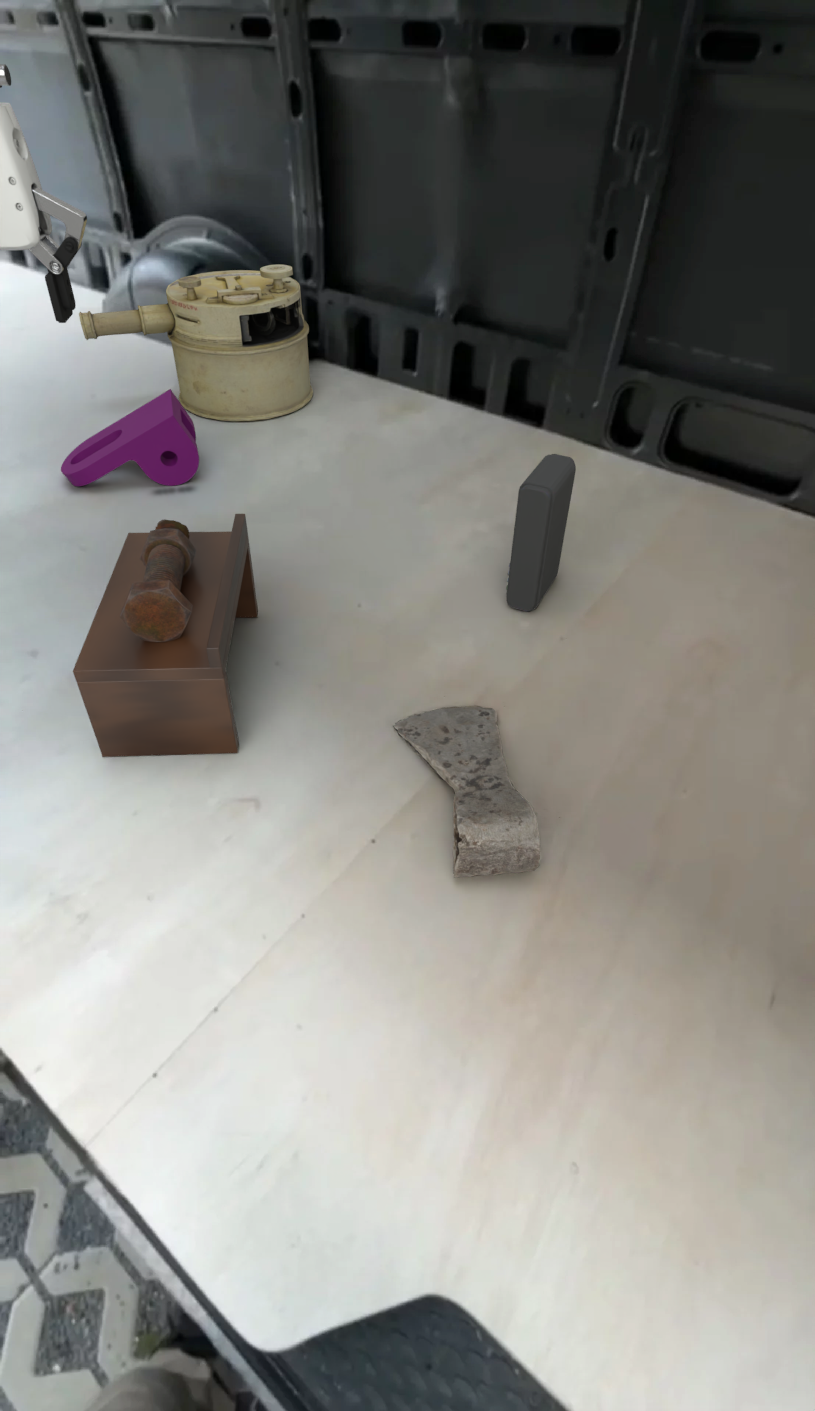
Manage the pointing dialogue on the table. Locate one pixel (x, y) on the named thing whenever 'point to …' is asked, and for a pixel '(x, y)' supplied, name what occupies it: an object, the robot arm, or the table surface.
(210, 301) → the mechanical device
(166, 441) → the mounting bracket
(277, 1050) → the table surface
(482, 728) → the axe head
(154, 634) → the bolt
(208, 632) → the shelf
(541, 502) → the card reader
